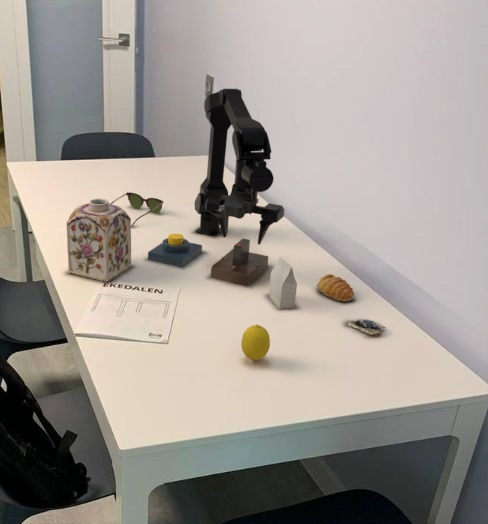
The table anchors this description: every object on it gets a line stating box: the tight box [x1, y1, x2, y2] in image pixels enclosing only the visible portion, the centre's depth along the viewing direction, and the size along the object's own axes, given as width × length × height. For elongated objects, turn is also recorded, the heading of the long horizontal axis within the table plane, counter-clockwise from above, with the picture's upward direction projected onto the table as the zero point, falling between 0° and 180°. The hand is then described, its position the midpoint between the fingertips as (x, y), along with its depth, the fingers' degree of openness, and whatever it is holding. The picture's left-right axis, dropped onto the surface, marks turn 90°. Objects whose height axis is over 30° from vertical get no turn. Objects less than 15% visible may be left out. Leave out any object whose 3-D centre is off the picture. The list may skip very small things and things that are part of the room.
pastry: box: [316, 273, 355, 302], centre depth 161 cm, size 9×7×4 cm
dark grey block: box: [232, 238, 251, 266], centre depth 169 cm, size 6×2×5 cm, turn 155°
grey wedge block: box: [268, 256, 298, 310], centre depth 155 cm, size 4×7×10 cm, turn 16°
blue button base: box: [147, 237, 203, 268], centre depth 178 cm, size 12×10×4 cm
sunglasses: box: [109, 191, 164, 228], centre depth 205 cm, size 14×15×5 cm
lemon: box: [240, 324, 271, 362], centre depth 131 cm, size 6×6×8 cm
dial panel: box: [210, 248, 269, 287], centre depth 170 cm, size 14×10×3 cm
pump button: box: [167, 233, 184, 245], centre depth 177 cm, size 4×4×2 cm
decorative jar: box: [66, 198, 132, 283], centre depth 165 cm, size 12×12×18 cm
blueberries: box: [347, 319, 387, 335], centre depth 146 cm, size 7×8×2 cm
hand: (242, 240), depth 167 cm, fingers open, 9 cm apart
